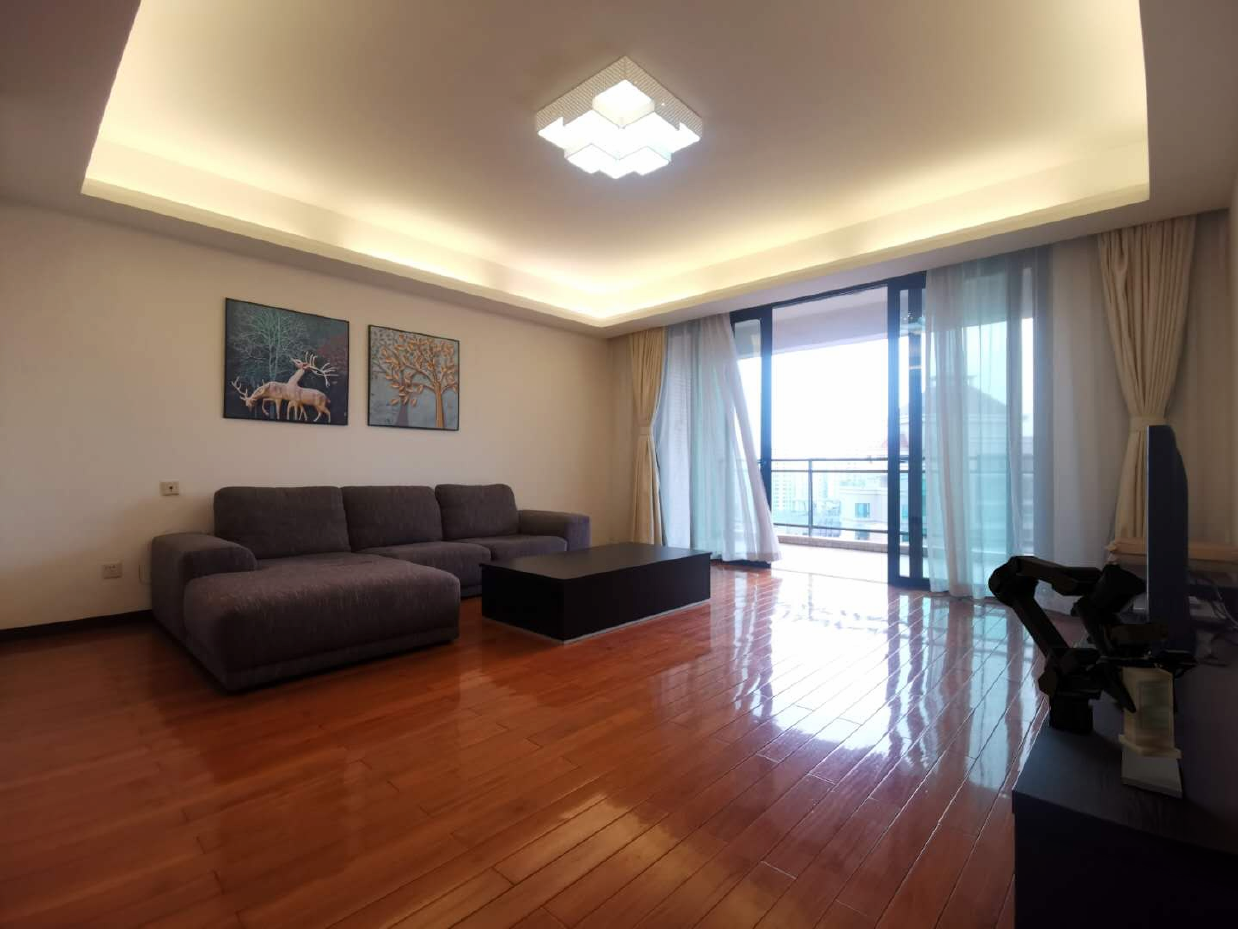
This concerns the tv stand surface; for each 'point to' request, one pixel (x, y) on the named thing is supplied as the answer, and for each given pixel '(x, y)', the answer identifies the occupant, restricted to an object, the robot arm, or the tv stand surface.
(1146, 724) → the tapered block
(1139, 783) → the slate tile
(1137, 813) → the tv stand surface
